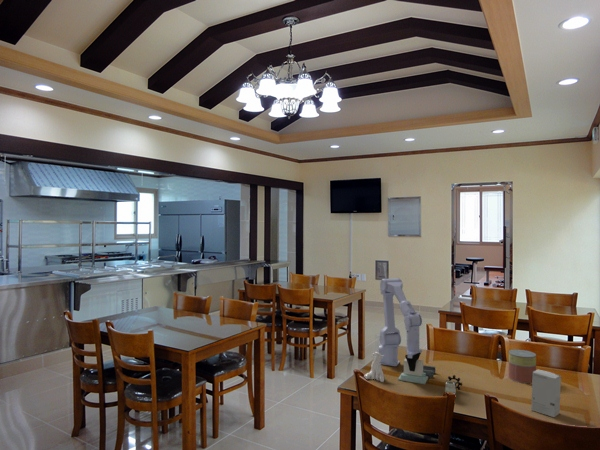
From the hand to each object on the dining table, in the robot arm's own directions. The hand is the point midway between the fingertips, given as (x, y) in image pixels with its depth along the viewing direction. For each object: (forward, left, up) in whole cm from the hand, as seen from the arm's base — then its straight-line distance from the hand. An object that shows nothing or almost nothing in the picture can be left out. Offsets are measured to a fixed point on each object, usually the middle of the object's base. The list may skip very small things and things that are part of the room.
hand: (413, 369), depth 190 cm
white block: (0, 0, -2) cm, 2 cm away
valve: (+18, -11, -5) cm, 22 cm away
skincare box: (+52, -12, -5) cm, 54 cm away
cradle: (0, 0, -4) cm, 4 cm away
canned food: (+45, +22, -5) cm, 50 cm away
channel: (+5, +9, -4) cm, 11 cm away
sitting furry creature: (-16, -6, -5) cm, 18 cm away
